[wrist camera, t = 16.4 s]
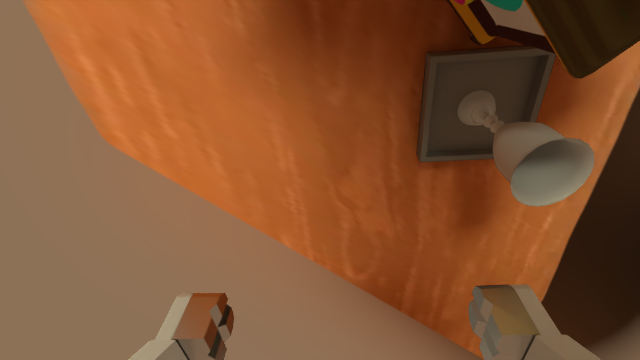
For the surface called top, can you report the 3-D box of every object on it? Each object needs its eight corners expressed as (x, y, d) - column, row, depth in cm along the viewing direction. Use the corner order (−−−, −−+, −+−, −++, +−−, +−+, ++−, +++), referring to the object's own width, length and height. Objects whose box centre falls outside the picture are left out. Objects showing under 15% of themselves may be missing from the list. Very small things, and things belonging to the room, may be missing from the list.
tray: (426, 52, 41) (431, 56, 39) (546, 43, 40) (558, 47, 38) (416, 154, 49) (420, 162, 47) (516, 149, 48) (525, 157, 45)
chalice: (467, 75, 41) (543, 128, 26) (513, 89, 42) (613, 148, 27) (441, 125, 45) (495, 197, 30) (484, 137, 46) (558, 213, 31)
